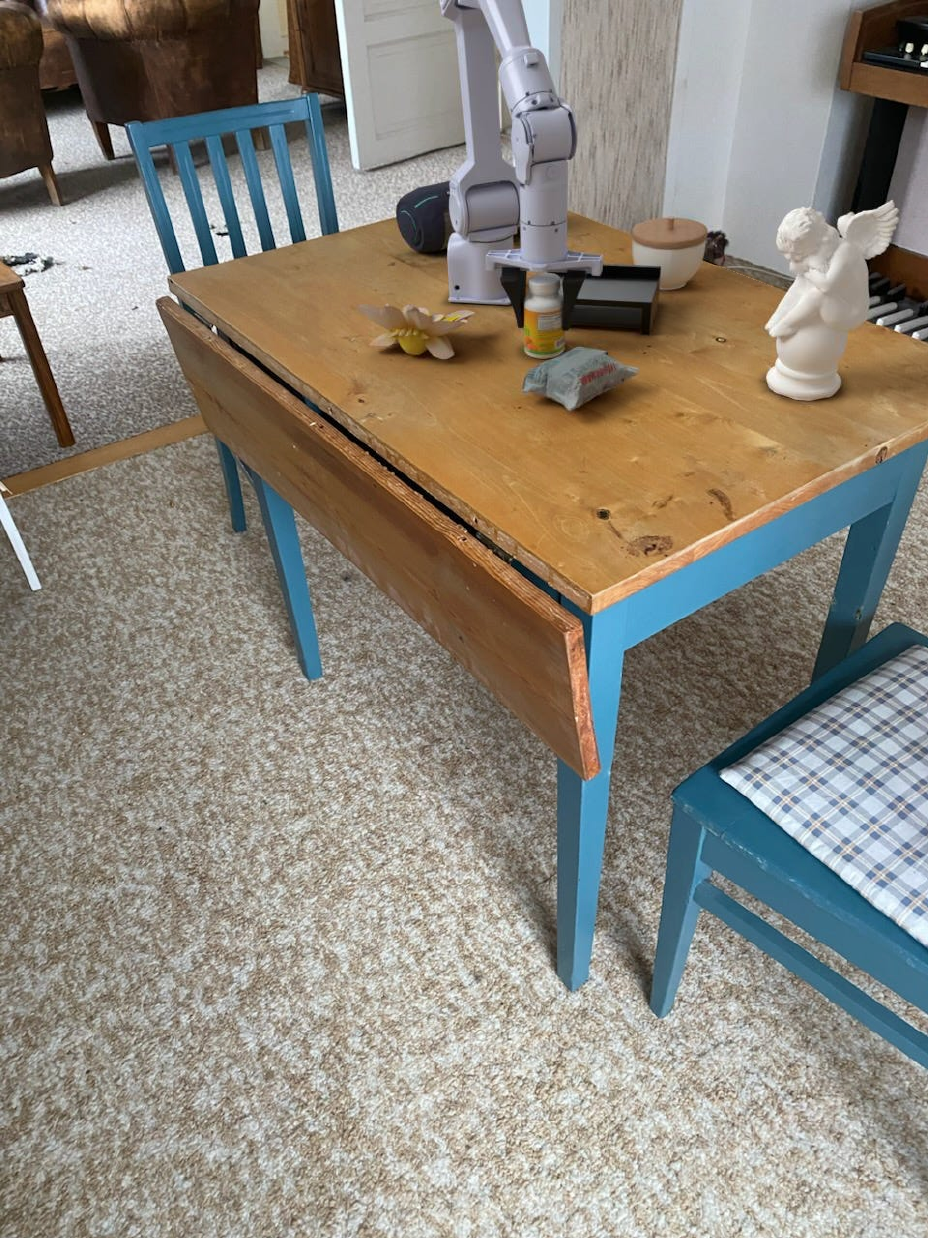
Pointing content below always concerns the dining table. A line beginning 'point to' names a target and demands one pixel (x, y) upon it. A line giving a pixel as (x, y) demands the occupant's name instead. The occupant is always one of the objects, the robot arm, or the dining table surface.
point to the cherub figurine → (823, 295)
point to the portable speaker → (427, 217)
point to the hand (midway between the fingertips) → (544, 326)
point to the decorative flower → (415, 328)
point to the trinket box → (670, 248)
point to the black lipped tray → (618, 297)
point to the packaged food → (577, 376)
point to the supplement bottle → (544, 317)
